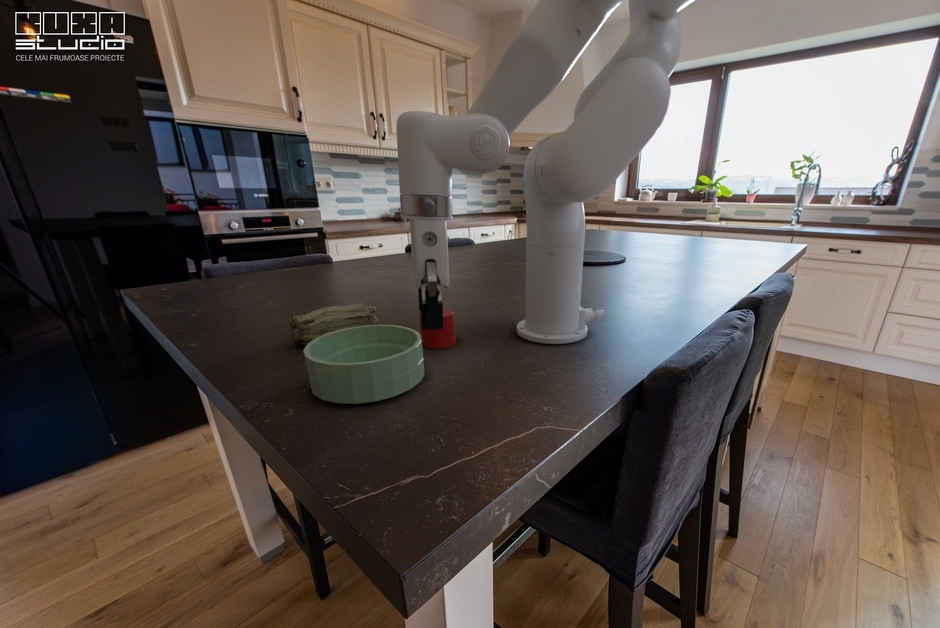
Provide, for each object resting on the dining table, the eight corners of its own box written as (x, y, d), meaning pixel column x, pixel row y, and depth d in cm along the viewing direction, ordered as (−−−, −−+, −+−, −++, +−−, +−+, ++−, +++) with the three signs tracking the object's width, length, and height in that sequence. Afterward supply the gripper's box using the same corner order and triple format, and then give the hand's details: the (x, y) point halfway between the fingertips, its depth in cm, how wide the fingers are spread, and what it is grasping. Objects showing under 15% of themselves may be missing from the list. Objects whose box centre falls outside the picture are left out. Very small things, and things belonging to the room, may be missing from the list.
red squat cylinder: (453, 335, 69) (451, 301, 67) (457, 346, 64) (455, 310, 62) (420, 338, 68) (417, 303, 66) (422, 350, 63) (419, 312, 61)
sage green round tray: (422, 355, 61) (419, 321, 59) (427, 399, 48) (423, 357, 46) (322, 364, 57) (316, 329, 56) (299, 414, 45) (290, 370, 43)
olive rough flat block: (301, 356, 61) (294, 322, 59) (287, 338, 68) (280, 308, 66) (390, 335, 69) (387, 305, 67) (370, 322, 76) (366, 295, 74)
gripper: (459, 212, 51) (460, 336, 57) (446, 207, 67) (448, 304, 73) (400, 210, 50) (407, 338, 55) (400, 205, 65) (406, 306, 71)
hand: (430, 319), depth 64 cm, fingers open, 9 cm apart
